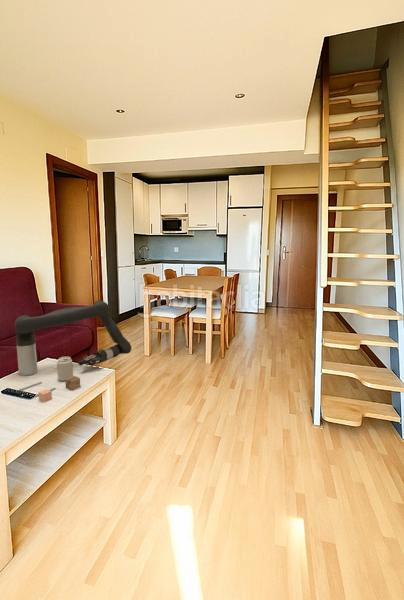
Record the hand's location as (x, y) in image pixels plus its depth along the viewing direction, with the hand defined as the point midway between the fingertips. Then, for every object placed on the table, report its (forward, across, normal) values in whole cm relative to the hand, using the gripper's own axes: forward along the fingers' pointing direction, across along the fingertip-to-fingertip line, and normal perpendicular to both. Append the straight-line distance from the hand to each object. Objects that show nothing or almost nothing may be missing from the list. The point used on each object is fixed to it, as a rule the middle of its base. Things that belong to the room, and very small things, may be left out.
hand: (79, 363), depth 171 cm
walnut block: (+13, +12, +6) cm, 19 cm away
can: (+9, 0, +6) cm, 11 cm away
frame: (+25, 0, +6) cm, 26 cm away
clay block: (+28, +13, +6) cm, 31 cm away
